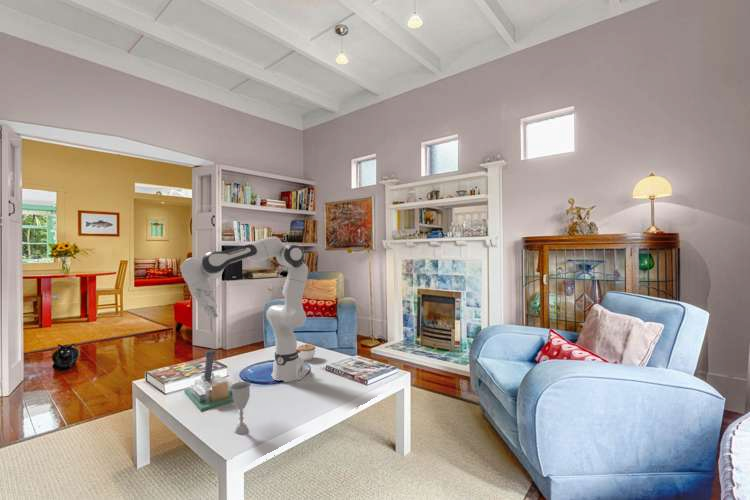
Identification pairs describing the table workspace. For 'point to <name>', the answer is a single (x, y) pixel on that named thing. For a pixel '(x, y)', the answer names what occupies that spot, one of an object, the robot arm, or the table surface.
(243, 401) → the chalice
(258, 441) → the table surface
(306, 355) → the lidded jar
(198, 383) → the heat sink
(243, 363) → the table surface
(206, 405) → the circuit board
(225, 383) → the brown square block
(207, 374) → the dark grey bar
